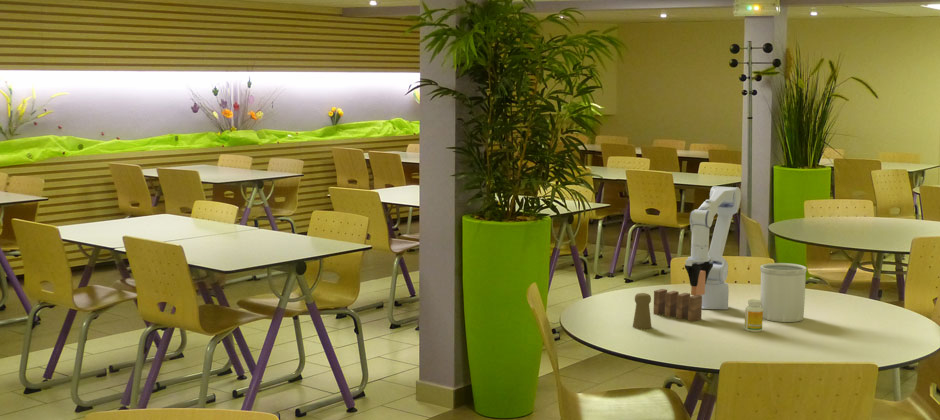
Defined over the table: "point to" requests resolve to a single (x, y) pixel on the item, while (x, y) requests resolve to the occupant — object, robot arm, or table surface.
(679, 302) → the domino
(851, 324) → the table surface
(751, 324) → the supplement bottle
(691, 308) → the domino
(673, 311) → the domino
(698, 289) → the domino
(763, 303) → the utensil holder
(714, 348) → the table surface
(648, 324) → the cork
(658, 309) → the domino
